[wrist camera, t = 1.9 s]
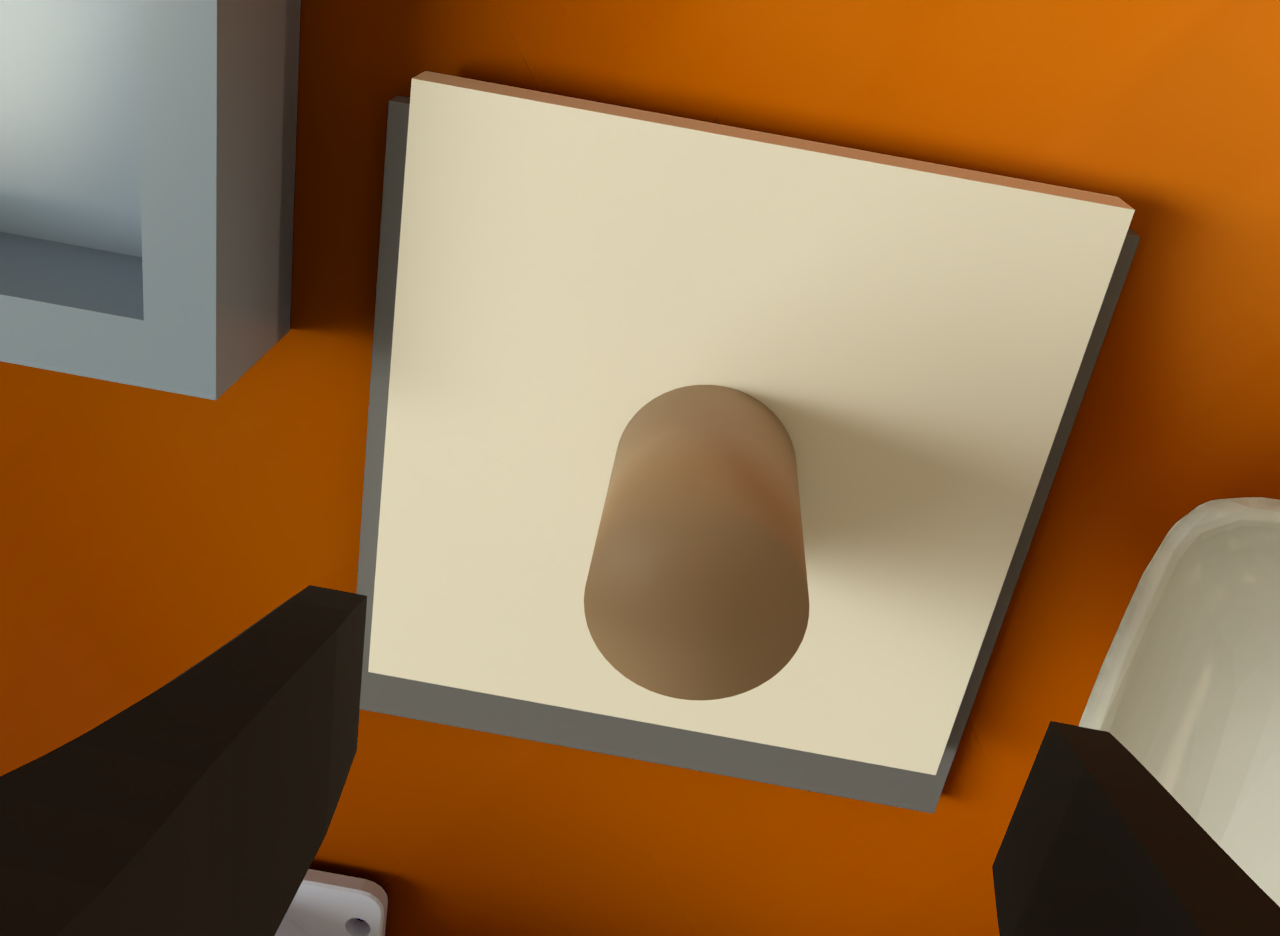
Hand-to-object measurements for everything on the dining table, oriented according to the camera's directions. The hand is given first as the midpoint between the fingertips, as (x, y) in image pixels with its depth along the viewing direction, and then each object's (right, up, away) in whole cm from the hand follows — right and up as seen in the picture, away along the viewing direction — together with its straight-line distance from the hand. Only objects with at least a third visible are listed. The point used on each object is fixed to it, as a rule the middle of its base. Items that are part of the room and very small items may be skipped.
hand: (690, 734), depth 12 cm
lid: (+1, +3, +7) cm, 7 cm away
